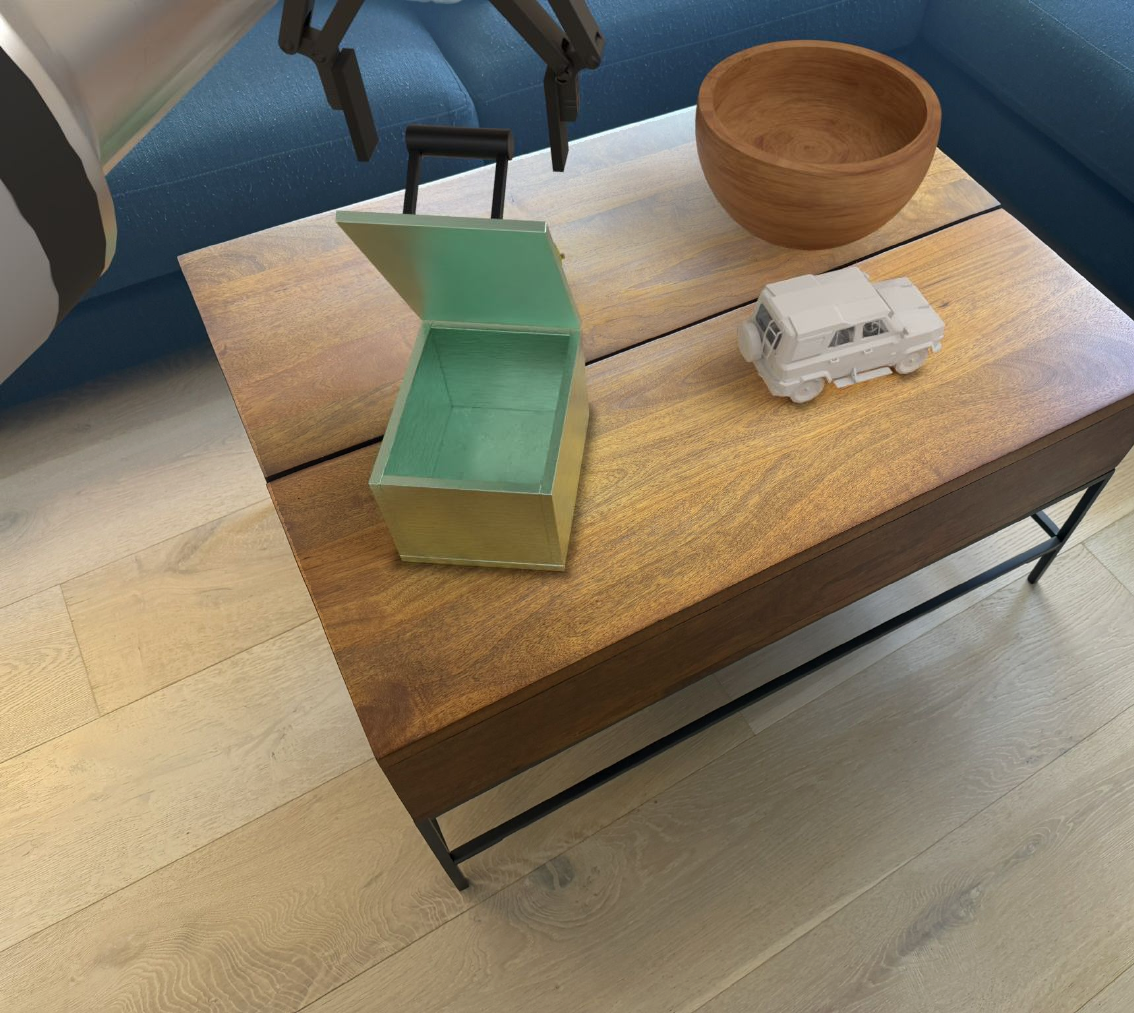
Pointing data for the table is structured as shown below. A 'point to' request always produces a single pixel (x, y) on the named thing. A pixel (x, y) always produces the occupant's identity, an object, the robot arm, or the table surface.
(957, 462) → the table surface
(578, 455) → the freezer
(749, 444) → the table surface
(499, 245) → the freezer lid
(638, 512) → the table surface
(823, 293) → the toy car
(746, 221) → the bowl
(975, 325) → the table surface
